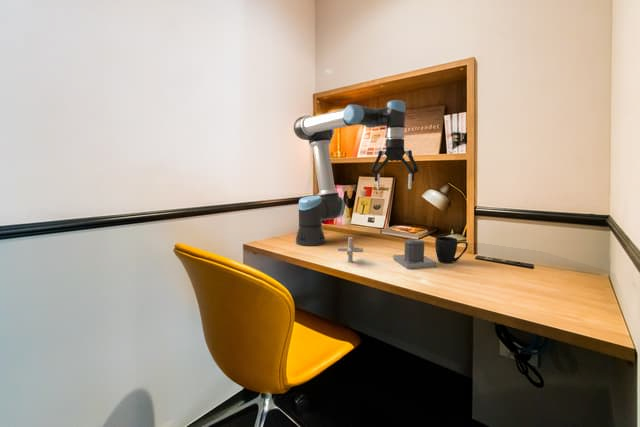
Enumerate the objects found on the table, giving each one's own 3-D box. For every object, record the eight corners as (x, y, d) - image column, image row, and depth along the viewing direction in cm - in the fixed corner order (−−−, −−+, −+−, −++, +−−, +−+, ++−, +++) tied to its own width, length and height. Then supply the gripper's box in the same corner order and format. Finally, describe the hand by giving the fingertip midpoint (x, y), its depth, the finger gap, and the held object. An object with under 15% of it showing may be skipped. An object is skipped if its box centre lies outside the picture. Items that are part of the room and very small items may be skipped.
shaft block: (393, 259, 131) (393, 242, 130) (419, 258, 134) (420, 240, 133) (407, 269, 120) (407, 249, 119) (435, 266, 122) (436, 247, 121)
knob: (406, 260, 123) (407, 242, 122) (403, 255, 130) (403, 238, 129) (425, 260, 123) (426, 242, 122) (420, 255, 130) (421, 238, 129)
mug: (465, 267, 121) (467, 243, 120) (432, 262, 127) (433, 239, 126) (467, 261, 128) (468, 238, 127) (436, 257, 134) (437, 235, 133)
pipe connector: (361, 266, 124) (362, 241, 122) (336, 264, 126) (336, 240, 124) (363, 258, 133) (363, 235, 132) (339, 257, 135) (340, 234, 134)
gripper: (366, 138, 131) (365, 189, 134) (427, 137, 130) (425, 189, 133) (364, 139, 139) (364, 188, 142) (422, 139, 137) (420, 188, 141)
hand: (393, 189), depth 137 cm, fingers open, 13 cm apart
